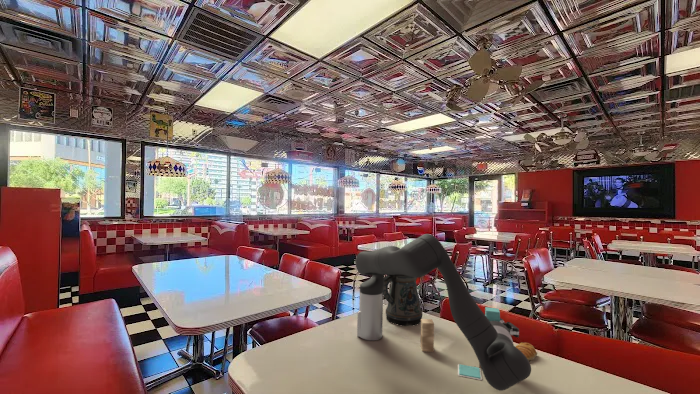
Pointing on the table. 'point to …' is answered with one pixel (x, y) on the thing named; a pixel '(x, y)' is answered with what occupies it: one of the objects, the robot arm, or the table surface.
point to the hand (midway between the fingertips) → (491, 319)
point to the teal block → (492, 314)
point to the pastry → (527, 350)
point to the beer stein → (402, 300)
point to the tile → (469, 372)
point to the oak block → (427, 335)
